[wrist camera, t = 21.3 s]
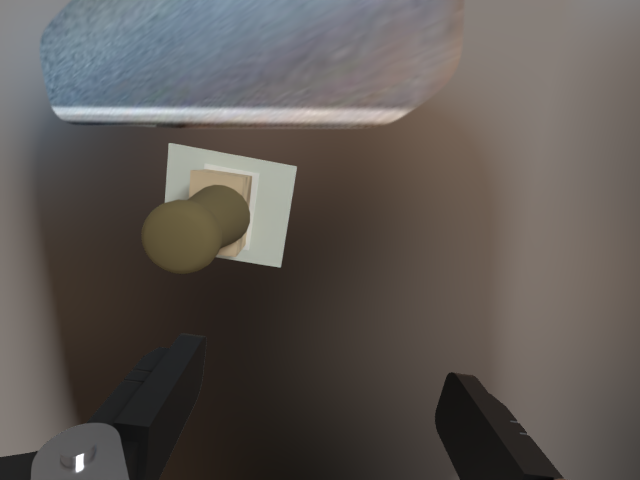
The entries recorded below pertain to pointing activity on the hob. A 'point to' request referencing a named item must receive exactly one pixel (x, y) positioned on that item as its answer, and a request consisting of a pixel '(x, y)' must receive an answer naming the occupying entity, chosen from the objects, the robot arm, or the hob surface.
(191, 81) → the hob surface
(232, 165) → the board
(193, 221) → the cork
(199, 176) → the oak block
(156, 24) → the hob surface
